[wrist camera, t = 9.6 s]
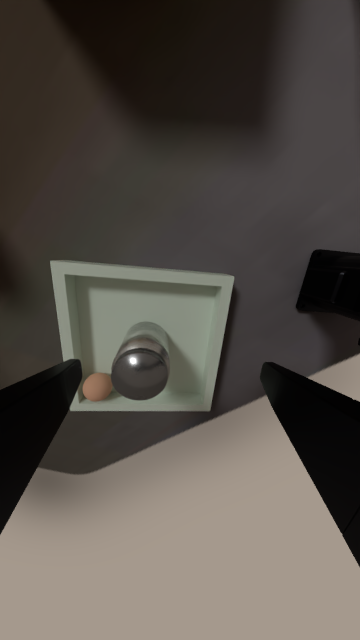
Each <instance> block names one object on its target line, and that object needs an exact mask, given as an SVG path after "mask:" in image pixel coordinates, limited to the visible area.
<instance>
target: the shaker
mask: <svg viewBox="0 0 360 640" xmlns="http://www.w3.org/2000/svg"><path fill="white" fill-rule="evenodd" d="M169 374H170V362H169V344H168V336H167V333H166V332H165V330H164V329H163V328H162V327H161V326H159V325H158V324H156V323H153V322H139V323H137V324H135V325H133V326H132V327H131V328H130V329H129V330H128V331H127V333H126V335H125V337H124V340H123V342H122V344H121V346H120V348H119V350H118V352H117V354H116V356H115V358H114V361H113V363H112V367H111V382H112V385H113V387H114V388H115V390H116V391H117V392H118V393H119V394H121V395H122V396H124V397H126V398H128V399H131V400H138V401H140V400H148V399H151V398H153V397H155V396H157V395H159V394H160V393H161V392H162V391H163V390H164V388H165V386H166V384H167V380H168V378H169Z"/></svg>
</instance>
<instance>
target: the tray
mask: <svg viewBox="0 0 360 640" xmlns="http://www.w3.org/2000/svg"><path fill="white" fill-rule="evenodd" d="M50 264H51V272H52V279H53V287H54V294H55V301H56V309H57V316H58V323H59V331H60V338H61V346H62V353H63V360H64V362H65V361H67V360H69V359H79V360H80V361H81V366H82V373H83V376H82V380H81V383H80V385H79V387H78V390H77V392H76V394H75V397H74V399H73V402H72V404H71V406H70V411H210V409H211V403H212V398H213V392H214V387H215V381H216V376H217V370H218V365H219V359H220V354H221V348H222V343H223V337H224V332H225V326H226V321H227V315H228V310H229V304H230V299H231V293H232V288H233V282H234V276H231V275H228V274H221V273H209V272H198V271H186V270H174V269H163V268H151V267H139V266H128V265H116V264H105V263H93V262H81V261H70V260H58V261H50ZM139 322H153V323H156V324H158V325H159V326H161V327H162V328H163V329H164V330H165V332H166V333H167V336H168V344H169V362H170V374H169V378H168V380H167V384H166V386H165V388H164V390H163V391H162V392H161V393H160V394H159V395H157V396H155V397H153V398H151V399H148V400H140V401H138V400H131V399H128V398H126V397H124V396H122V395H121V394H119V393H118V392H117V391H116V390H115V388H114V387H113V385H112V390H111V392H110V394H109V395H108V396H107V397H106V398H105V399H103V400H101V401H97V402H94V401H90V400H88V399H87V398H86V397H85V396H84V394H83V384H84V382H85V380H86V379H87V378H88V377H89V376H90V375H92V374H94V373H105V374H107V375H108V376H109V377H110V378H111V367H112V363H113V361H114V358H115V356H116V354H117V352H118V350H119V348H120V346H121V344H122V342H123V340H124V337H125V335H126V333H127V331H128V330H129V329H130V328H131V327H132V326H133V325H135V324H137V323H139Z"/></svg>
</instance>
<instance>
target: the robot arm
mask: <svg viewBox="0 0 360 640" xmlns="http://www.w3.org/2000/svg"><path fill="white" fill-rule="evenodd" d="M317 253H318V256H317ZM301 305H302V307H301ZM296 308H297V309H299V310H302V311H317V312H332V313H337V314H340V315H343V316H346V317H349V318H352V319H355V320H358V321H360V254H359V253H350V252H340V251H331V250H321V249H319V250H314V251H313V253H312V255H311V258H310V262H309V265H308V268H307V271H306V275H305V278H304V281H303V285H302V288H301V291H300V294H299V298H298V301H297V304H296ZM358 345H359V346H360V338H359V341H358ZM82 376H83V373H82V366H81V361H80V360H79V359H69V360H67V361H65V362H62V363H60V364H58V365H56V366H53V367H51V368H49V369H46V370H44V371H42V372H40V373H37V374H35V375H33V376H31V377H28V378H26V379H24V380H22V381H19V382H17V383H15V384H13V385H10V386H8V387H6V388H4V389H1V390H0V534H1V532H2V530H3V529H4V527H5V525H6V523H7V522H8V520H9V518H10V516H11V514H12V512H13V511H14V509H15V507H16V505H17V503H18V502H19V500H20V498H21V496H22V494H23V492H24V490H25V488H26V487H27V485H28V483H29V482H30V479H31V478H32V476H33V474H34V472H35V471H36V469H37V467H38V465H39V463H40V462H41V460H42V458H43V456H44V454H45V452H46V451H47V449H48V447H49V445H50V443H51V442H52V440H53V438H54V436H55V434H56V432H57V431H58V429H59V427H60V425H61V423H62V422H63V420H64V418H65V416H66V414H67V412H68V410H69V408H70V406H71V404H72V402H73V399H74V397H75V394H76V392H77V390H78V387H79V385H80V383H81V380H82ZM260 380H261V383H262V385H263V387H264V390H265V392H266V394H267V397H268V399H269V401H270V403H271V406H272V408H273V410H274V412H275V414H276V415H277V417H278V419H279V421H280V423H281V425H282V426H283V428H284V430H285V432H286V434H287V435H288V437H289V439H290V441H291V443H292V445H293V446H294V448H295V450H296V452H297V454H298V455H299V457H300V459H301V461H302V463H303V465H304V466H305V468H306V470H307V472H308V474H309V475H310V477H311V479H312V481H313V482H314V484H315V486H316V488H317V490H318V492H319V493H320V495H321V497H322V499H323V501H324V503H325V504H326V506H327V508H328V510H329V512H330V514H331V515H332V517H333V519H334V521H335V523H336V524H337V526H338V528H339V530H340V532H341V533H342V534H343V537H344V539H345V541H346V543H347V545H348V547H349V548H350V550H351V552H352V554H353V556H354V557H355V559H356V561H357V563H358V565H359V566H360V402H359V401H356V400H353V399H352V398H350V397H348V396H345V395H343V394H341V393H339V392H337V391H335V390H332V389H330V388H328V387H326V386H323V385H321V384H319V383H317V382H315V381H313V380H310V379H308V378H306V377H304V376H302V375H299V374H297V373H295V372H293V371H291V370H288V369H286V368H284V367H282V366H280V365H278V364H275V363H273V362H265V363H263V366H262V370H261V374H260Z"/></svg>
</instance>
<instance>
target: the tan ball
mask: <svg viewBox="0 0 360 640" xmlns="http://www.w3.org/2000/svg"><path fill="white" fill-rule="evenodd" d="M111 390H112V382H111V378H110V377H109V376H108V375H107V374H105V373H94V374H92V375H90V376H89V377H88V378H87V379H86V380H85V382H84V384H83V394H84V396H85V397H86V398H87V399H88V400H90V401H94V402H97V401H101V400H103V399H105V398H106V397H107V396H108V395H109V394H110V392H111Z"/></svg>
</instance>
